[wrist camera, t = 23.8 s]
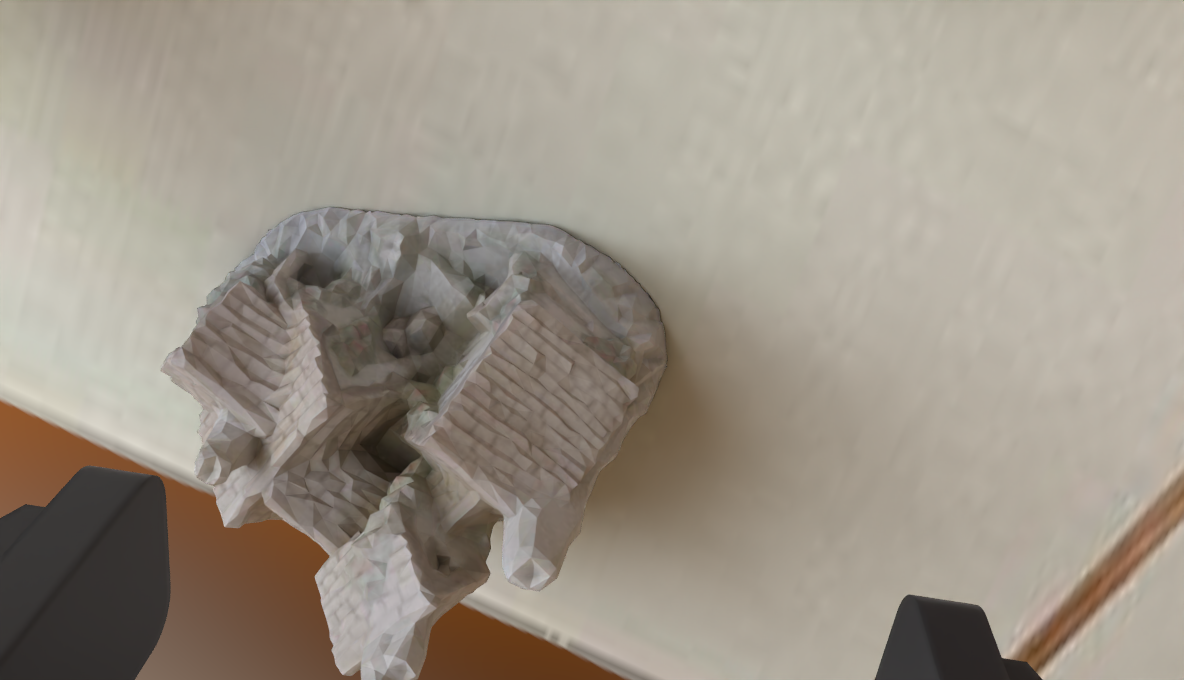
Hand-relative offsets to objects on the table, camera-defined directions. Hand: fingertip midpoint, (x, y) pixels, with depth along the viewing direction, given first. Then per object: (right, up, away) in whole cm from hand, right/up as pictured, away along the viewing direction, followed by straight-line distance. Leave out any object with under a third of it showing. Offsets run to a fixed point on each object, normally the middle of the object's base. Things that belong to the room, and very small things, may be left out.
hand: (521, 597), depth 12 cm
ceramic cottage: (-5, +3, +33) cm, 34 cm away
